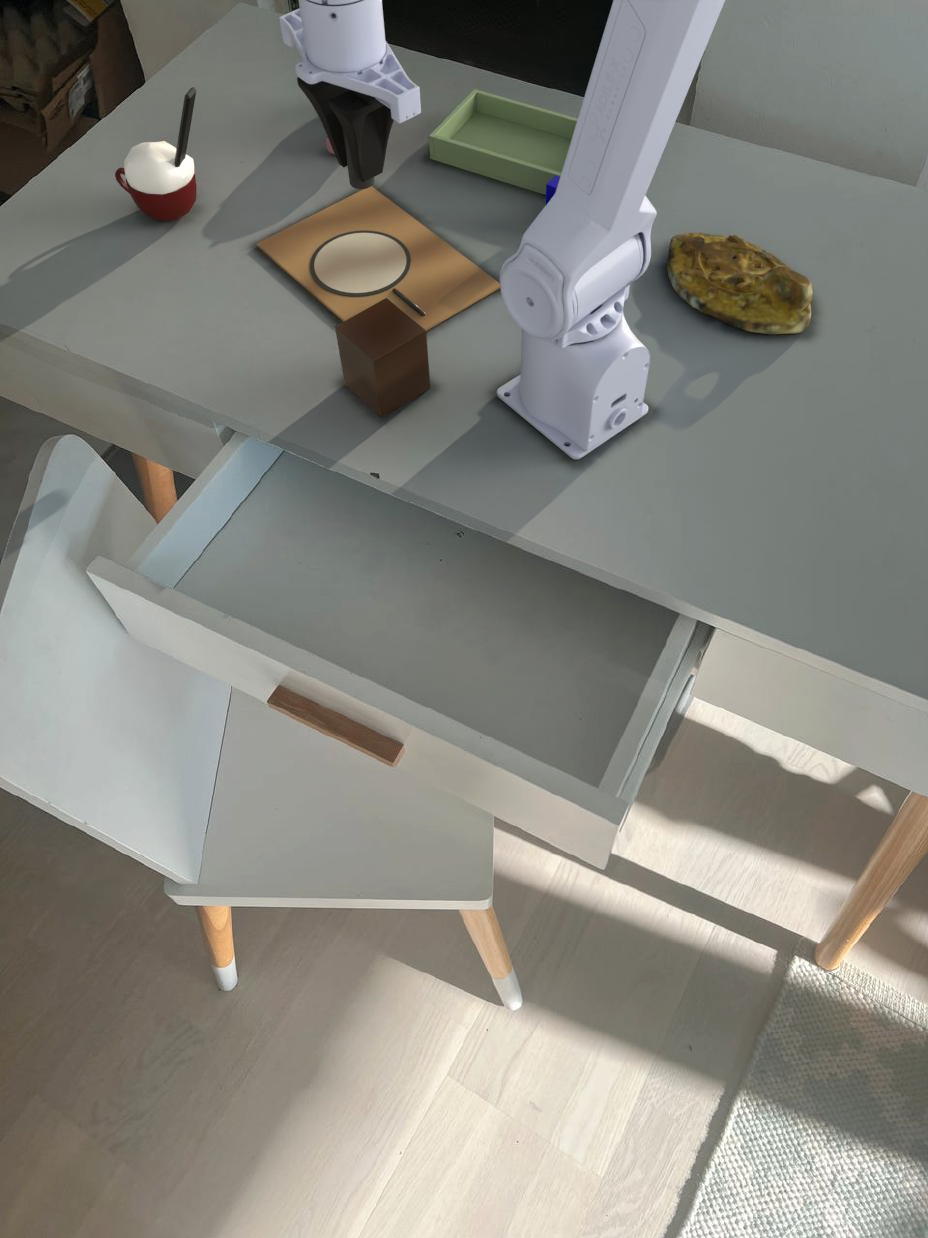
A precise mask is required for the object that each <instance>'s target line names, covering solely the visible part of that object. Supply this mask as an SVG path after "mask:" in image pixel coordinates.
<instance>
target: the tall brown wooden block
mask: <svg viewBox="0 0 928 1238" xmlns="http://www.w3.org/2000/svg"><path fill="white" fill-rule="evenodd" d="M334 329H335V335H336V342H337V348H338V352H339V359H340V364H341V371H342V376H343V382H344V385H345V386H346V387H347V388H348V389H350V391H352V392H353V394H355V395H356V396H357V397H358V398H360V400H361V401H363V402H364V403H365V404H366V405H367V406H368V407H369V409H371V410H372V411H373V412H375V414H377V415H378V416H379V417H380V418H384V417H385V416H387V415H389V414H390V413H392V412H394V411H395V410H397V409H399V408H400V407H402V406H403V405H405V404H407V403H408V402H410V401H412V400H413V399H415V398H417V397H418V396H420V395H421V394H423V393H425V392H426V391H428V390H430V389H431V378H430V377H431V376H430V364H429V350H428V337H427V335H428V334H427V331H426V330H425V329H424V328H423V327H421V326H420V325H419V324H418V323H417V322H415V321H414V320H413V319H412V318H411V317H409V316H408V315H407V314H406V313H405V312H403V311H402V310H401V309H400V308H399V307H397V306H396V305H395V304H394V303H392V302H391V301H390V300H389V299H388V298H385V299H383V300H381V301H379V302H378V303H376V304H374V305H372V306H371V307H369V308H367V309H365V310H363V311H362V312H360V313H358V314H356V315H354V316H353V317H351V318H349V319H347V320H345V321H344V322H343V321H342V322H340V323H338V324H337V325H335V326H334Z"/></svg>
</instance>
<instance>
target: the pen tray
mask: <svg viewBox="0 0 928 1238" xmlns="http://www.w3.org/2000/svg"><path fill="white" fill-rule="evenodd" d="M577 120H578V117H573V116H570V115H568V114H567V115H566V114H563V113H560V112H557V111H553V110H551V109H550V110H549V109H546V108H542V107H538V106H535V105H532V104H528V103H525V102H523V101H517V100H515V99H511V98H507V97H504V96H500V95H497V94H493V93H489V92H487V91H483V90H480V89H476V88H474V89H473V90H472V91H471V92H470V93H469V94H468V95H467V96H466V97H465V98H464V99H463V100H462V101H461V102H460V103H459V104H457V106H456V107H455V108H454V109H453V110H452V111H451V112H450V113H449V114H448V115H447V116H446V118H445V119H444V120H442V121H441V123H439V125H438V126H437V127H435V129H434V130H433V131H432V132H431V133H430V134H429V135H428V141H429V142H428V144H429V145H428V146H429V159H430V160H433V161H435V162H439V163H443V164H445V165H448V166H452V167H456V168H459V169H462V170H465V171H468V172H471V173H473V174H474V173H475V174H477V175H481V176H484V177H487V178H490V179H493V180H496V181H500V182H503V183H507V184H508V185H513V186H515V187H519V188H522V189H525V190H528V191H532V192H536V193H538V194H540V195H541V194H542V195H545V196H546V184H547V183H548V182H549V181H550V180H551V179H553V178H554V177H555V176H558V177H560V176H561V173H562V169H563V166H564V163H565V159H566V156H567V153H568V149H569V146H570V143H571V139H572V136H573V133H574V129H575V126H576V123H577Z"/></svg>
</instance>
